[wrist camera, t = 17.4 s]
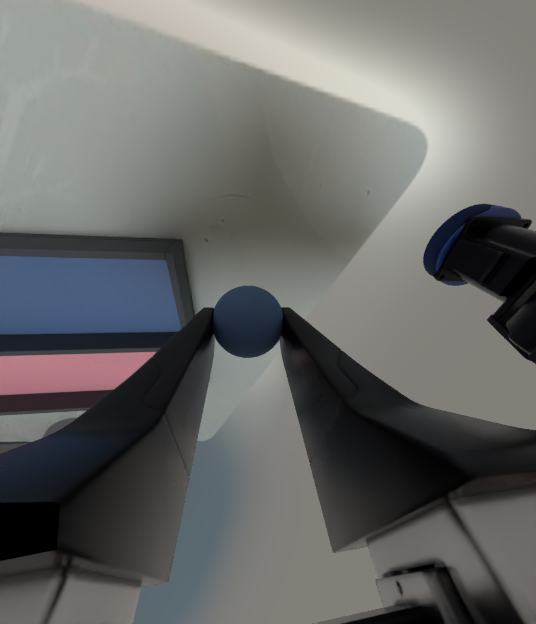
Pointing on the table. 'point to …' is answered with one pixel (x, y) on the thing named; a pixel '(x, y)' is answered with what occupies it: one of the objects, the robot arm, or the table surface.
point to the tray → (83, 315)
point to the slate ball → (247, 321)
